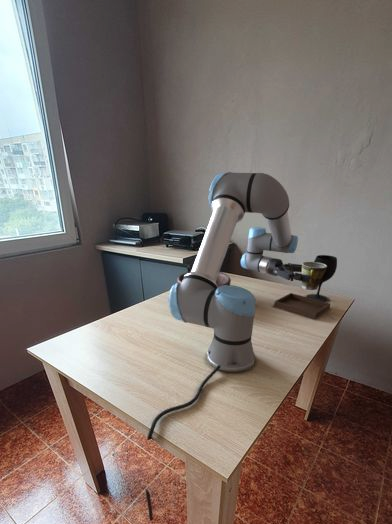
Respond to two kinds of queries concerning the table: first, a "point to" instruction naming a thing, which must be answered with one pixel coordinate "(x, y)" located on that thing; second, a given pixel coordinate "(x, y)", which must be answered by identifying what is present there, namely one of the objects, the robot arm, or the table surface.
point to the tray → (302, 305)
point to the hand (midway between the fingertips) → (316, 276)
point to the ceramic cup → (313, 274)
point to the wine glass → (325, 274)
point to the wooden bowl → (220, 281)
